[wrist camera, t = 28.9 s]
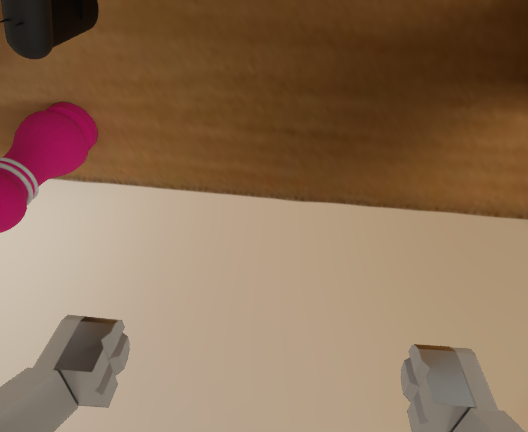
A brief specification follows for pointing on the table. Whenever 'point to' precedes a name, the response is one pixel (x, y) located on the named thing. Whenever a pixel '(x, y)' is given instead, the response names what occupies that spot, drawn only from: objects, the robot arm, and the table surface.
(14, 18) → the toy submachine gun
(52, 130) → the pepper mill
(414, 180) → the table surface
